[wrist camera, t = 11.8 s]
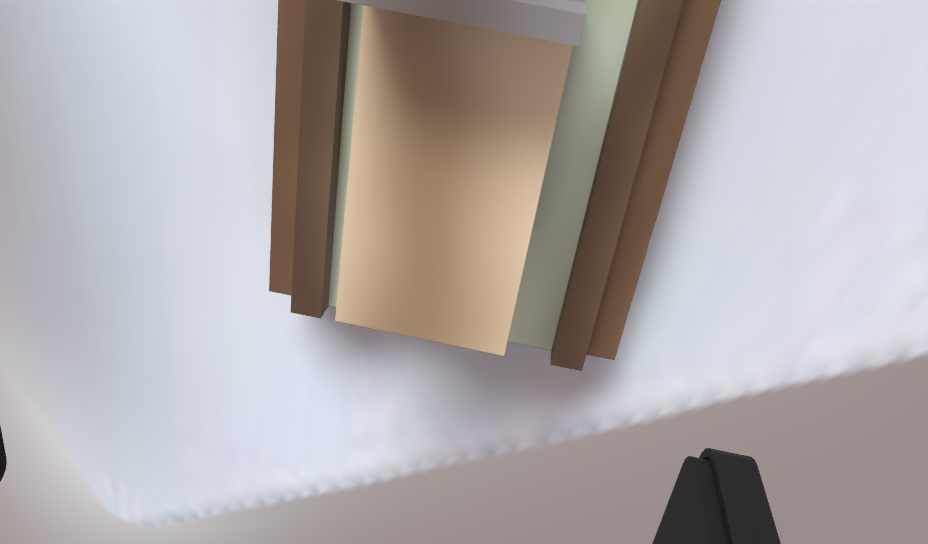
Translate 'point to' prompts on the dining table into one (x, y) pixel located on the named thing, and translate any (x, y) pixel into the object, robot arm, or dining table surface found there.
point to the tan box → (449, 162)
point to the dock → (566, 175)
